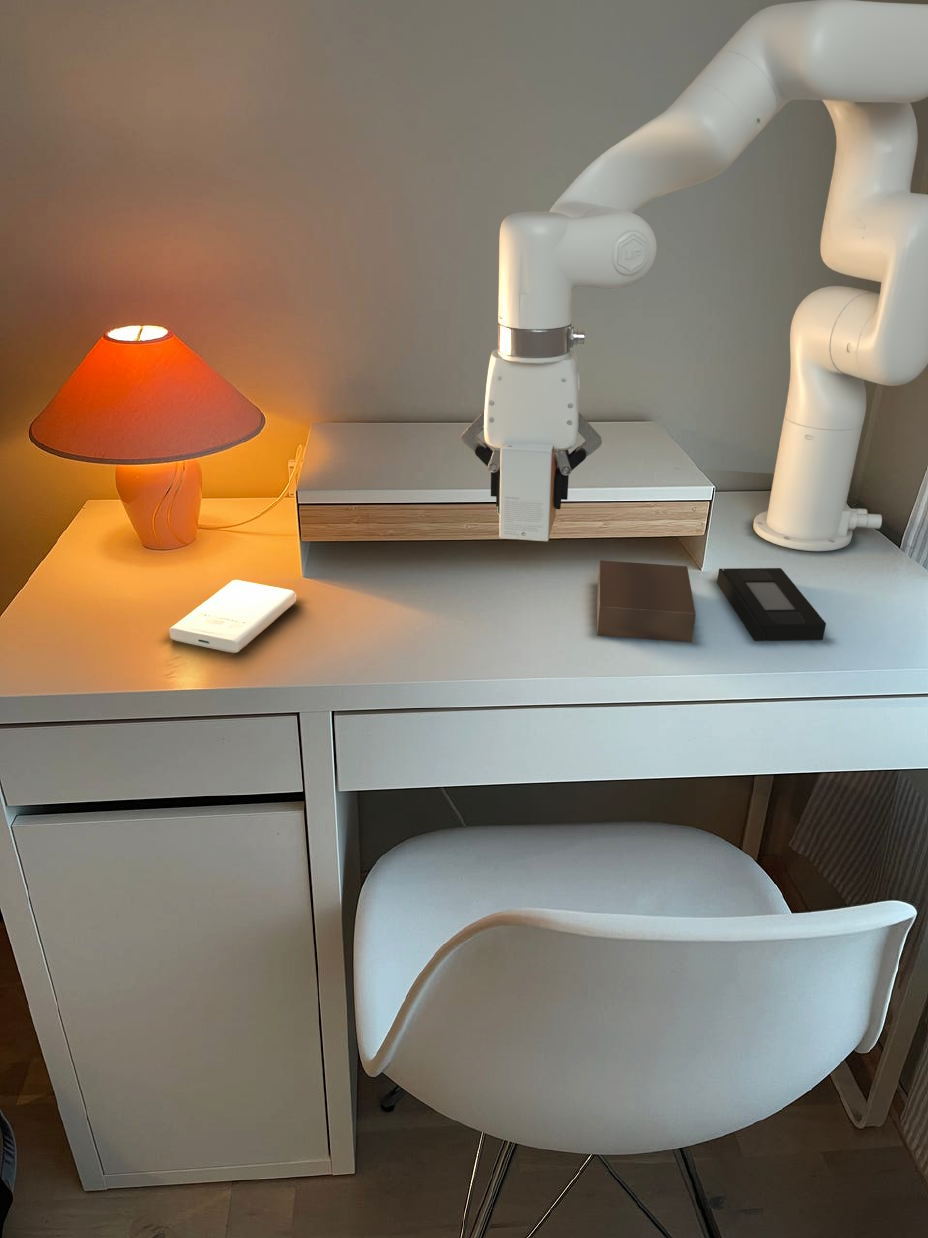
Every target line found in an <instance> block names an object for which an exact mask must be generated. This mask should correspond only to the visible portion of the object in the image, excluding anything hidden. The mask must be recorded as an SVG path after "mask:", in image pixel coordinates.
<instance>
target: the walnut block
mask: <svg viewBox="0 0 928 1238" xmlns="http://www.w3.org/2000/svg"><path fill="white" fill-rule="evenodd" d="M596 599H597V600H596V602H597V603H596V604H597V605H596V606H597V607H596V609H597V610H596V636H602V637H614V638H629V639H639V640H640V639H641V640H655V641H666V642H667V641H669V642H680V643H692V641H693V635H694V628H695V620H696V614H697V613H696V606H695V601H694V596H693V591H692V585H691V580H690V574H689V569H688V566H687V565H676V564H675V565H674V564H660V563H647V562H646V563H645V562H644V563H643V562H631V561H630V562H629V561H615V560H603V559H602V560H601V559H600V561H599V568H598V579H597V598H596Z"/></svg>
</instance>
